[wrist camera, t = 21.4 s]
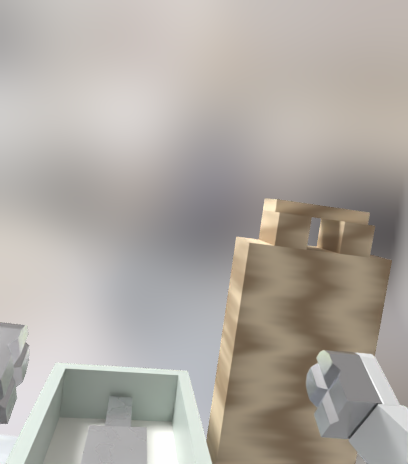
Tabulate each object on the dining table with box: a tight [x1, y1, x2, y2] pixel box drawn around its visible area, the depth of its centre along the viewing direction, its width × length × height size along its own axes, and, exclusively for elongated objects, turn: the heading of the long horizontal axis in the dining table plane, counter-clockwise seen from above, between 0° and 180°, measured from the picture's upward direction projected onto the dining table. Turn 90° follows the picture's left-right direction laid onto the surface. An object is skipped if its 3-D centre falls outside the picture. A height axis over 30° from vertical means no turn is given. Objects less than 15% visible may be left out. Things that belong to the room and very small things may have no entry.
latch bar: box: [81, 396, 147, 464], centre depth 29 cm, size 4×11×4 cm, turn 9°
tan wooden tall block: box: [206, 199, 392, 464], centre depth 33 cm, size 12×4×30 cm, turn 99°
